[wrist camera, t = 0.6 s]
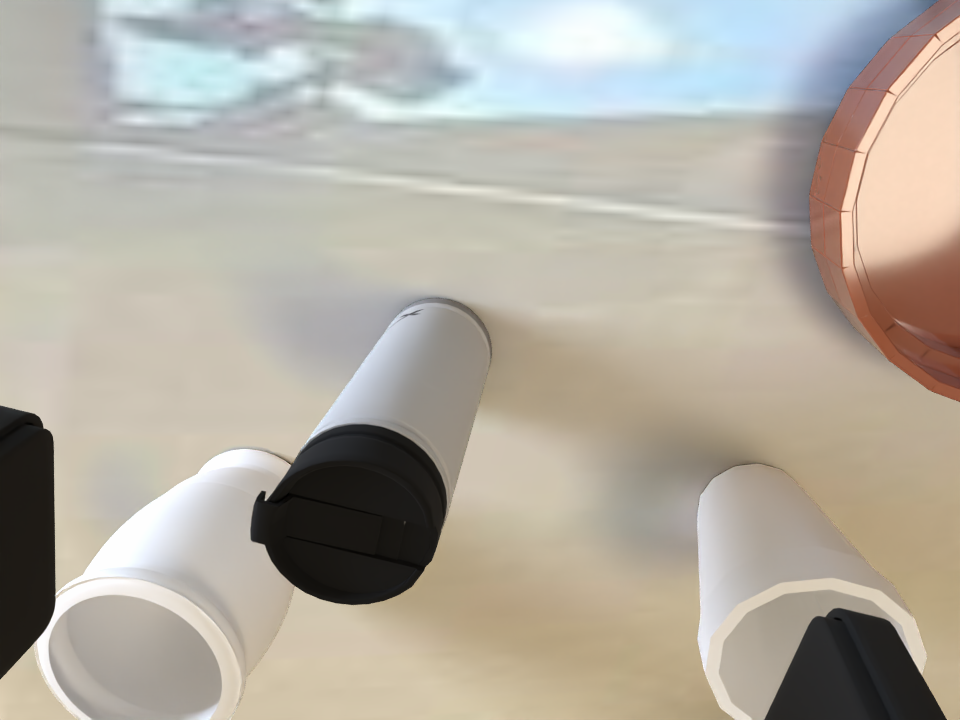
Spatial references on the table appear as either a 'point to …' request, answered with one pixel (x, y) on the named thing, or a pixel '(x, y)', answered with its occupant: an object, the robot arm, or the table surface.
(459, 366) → the travel mug
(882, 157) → the terracotta plant saucer
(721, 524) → the foam cup
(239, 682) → the jar
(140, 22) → the table surface
